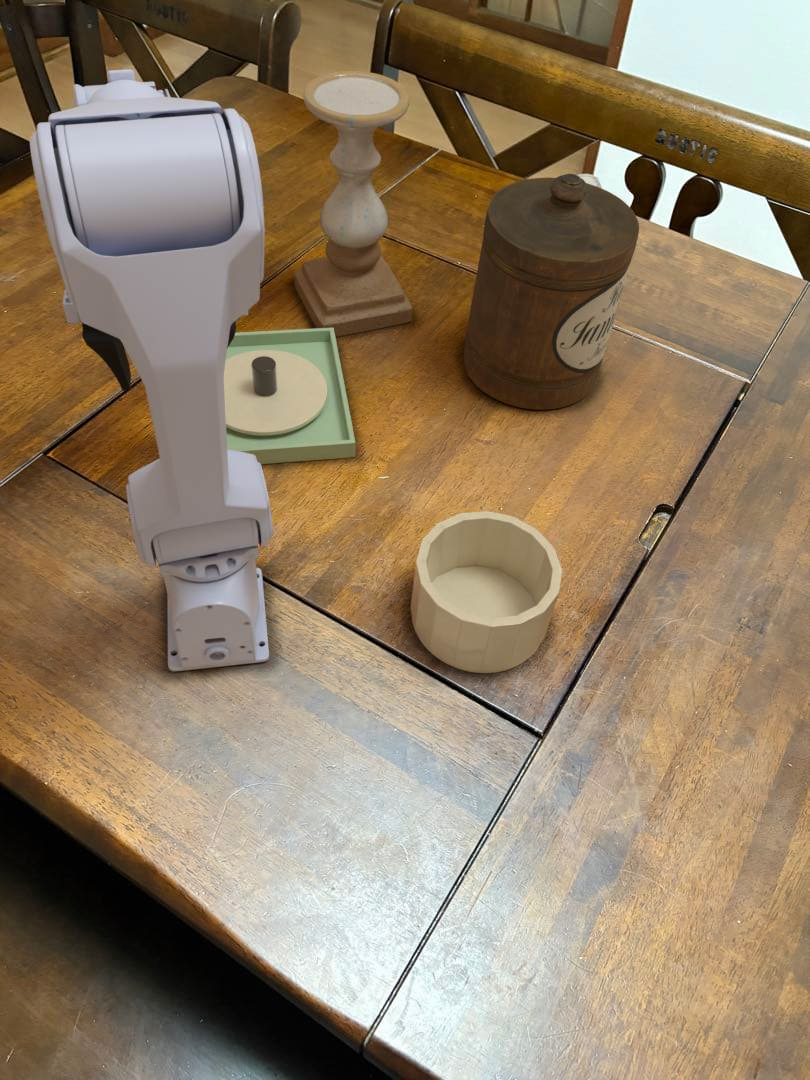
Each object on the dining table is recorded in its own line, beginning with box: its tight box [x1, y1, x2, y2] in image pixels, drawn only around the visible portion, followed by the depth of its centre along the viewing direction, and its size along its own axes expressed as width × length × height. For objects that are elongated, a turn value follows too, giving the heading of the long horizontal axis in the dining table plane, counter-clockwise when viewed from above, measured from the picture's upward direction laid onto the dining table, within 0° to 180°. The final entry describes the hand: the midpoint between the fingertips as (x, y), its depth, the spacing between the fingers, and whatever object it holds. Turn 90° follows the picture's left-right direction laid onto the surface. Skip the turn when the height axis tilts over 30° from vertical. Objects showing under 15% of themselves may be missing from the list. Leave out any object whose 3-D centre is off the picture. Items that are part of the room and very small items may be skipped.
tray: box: [226, 327, 357, 465], centre depth 93 cm, size 18×16×2 cm
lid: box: [224, 350, 328, 436], centre depth 92 cm, size 13×13×4 cm
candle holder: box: [293, 70, 413, 338], centre depth 97 cm, size 11×11×24 cm
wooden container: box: [463, 173, 640, 411], centre depth 92 cm, size 15×15×22 cm
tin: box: [409, 510, 563, 674], centre depth 76 cm, size 12×12×7 cm
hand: (171, 380), depth 81 cm, fingers open, 7 cm apart
